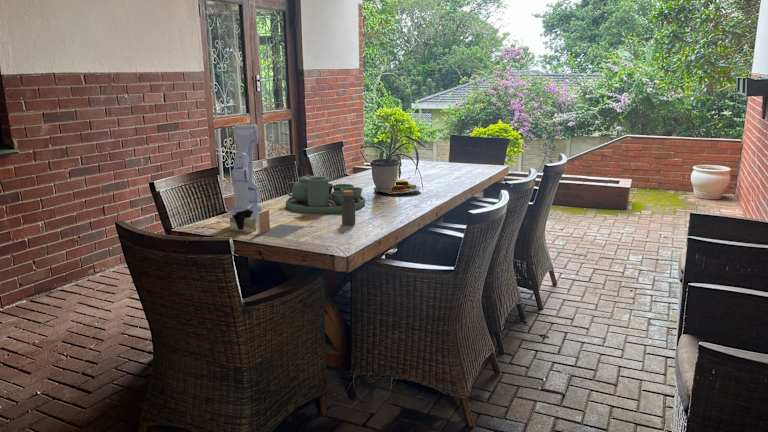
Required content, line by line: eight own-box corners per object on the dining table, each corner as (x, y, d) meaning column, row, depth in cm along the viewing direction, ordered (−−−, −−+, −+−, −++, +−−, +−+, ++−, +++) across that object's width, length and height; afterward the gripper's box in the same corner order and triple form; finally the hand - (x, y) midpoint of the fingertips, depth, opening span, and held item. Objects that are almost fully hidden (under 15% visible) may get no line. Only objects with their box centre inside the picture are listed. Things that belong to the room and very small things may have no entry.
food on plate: (398, 198, 325) (398, 186, 323) (367, 193, 342) (367, 181, 341) (430, 192, 342) (430, 181, 340) (399, 187, 360) (399, 176, 358)
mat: (280, 225, 266) (280, 224, 266) (306, 228, 261) (306, 226, 261) (254, 236, 248) (254, 234, 248) (281, 239, 243) (281, 237, 243)
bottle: (355, 222, 270) (354, 189, 267) (355, 225, 265) (354, 192, 261) (342, 222, 270) (341, 189, 267) (341, 225, 264) (341, 192, 261)
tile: (267, 230, 255) (266, 209, 253) (270, 230, 255) (268, 209, 253) (258, 234, 249) (256, 212, 247) (260, 234, 248) (259, 213, 246)
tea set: (376, 210, 297) (375, 177, 294) (296, 217, 283) (295, 182, 279) (350, 196, 333) (349, 166, 330) (278, 202, 319) (277, 171, 315)
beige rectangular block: (234, 229, 259) (233, 216, 258) (256, 231, 255) (255, 218, 254) (230, 231, 257) (229, 217, 255) (252, 233, 252) (251, 219, 251)
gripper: (238, 200, 244) (240, 233, 247) (259, 194, 258) (260, 225, 261) (224, 199, 247) (226, 231, 250) (245, 193, 260) (247, 223, 263)
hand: (243, 228), depth 256 cm, fingers closed on beige rectangular block, 3 cm apart
